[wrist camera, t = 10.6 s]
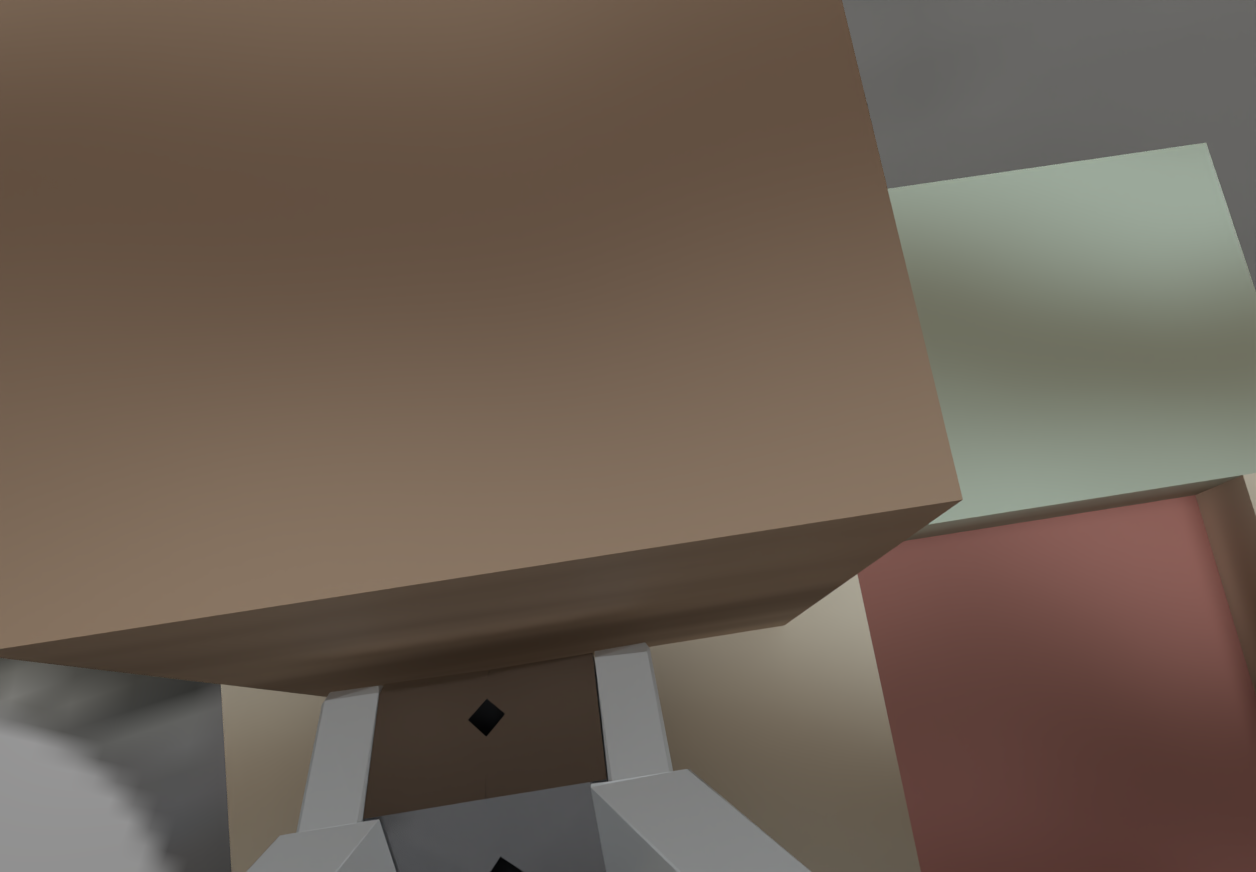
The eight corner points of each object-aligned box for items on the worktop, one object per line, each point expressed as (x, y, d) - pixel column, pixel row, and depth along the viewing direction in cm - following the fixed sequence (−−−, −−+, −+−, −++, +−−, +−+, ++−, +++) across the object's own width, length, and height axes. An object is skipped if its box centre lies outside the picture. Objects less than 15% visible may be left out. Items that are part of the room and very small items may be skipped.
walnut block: (783, 625, 14) (964, 498, 7) (330, 697, 14) (-31, 653, 6) (717, 279, 16) (801, -164, 8) (302, 340, 15) (-29, -55, 8)
